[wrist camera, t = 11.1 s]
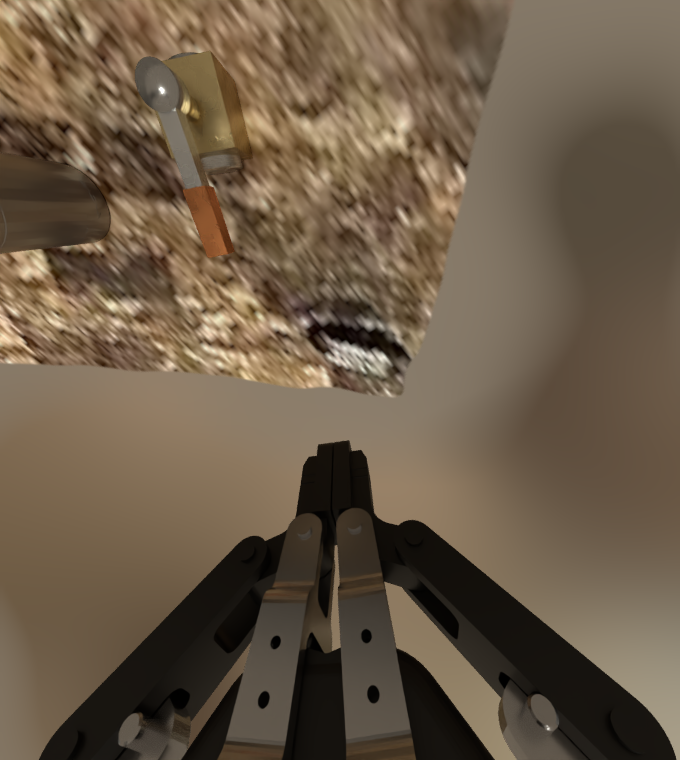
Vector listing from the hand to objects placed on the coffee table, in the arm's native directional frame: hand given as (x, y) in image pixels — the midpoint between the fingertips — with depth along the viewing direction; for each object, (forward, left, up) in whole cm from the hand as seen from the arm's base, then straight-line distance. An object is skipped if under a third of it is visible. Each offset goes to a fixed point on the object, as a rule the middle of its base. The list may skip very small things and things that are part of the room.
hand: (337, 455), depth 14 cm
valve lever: (-12, +15, -25) cm, 31 cm away
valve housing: (-12, +21, -35) cm, 43 cm away
